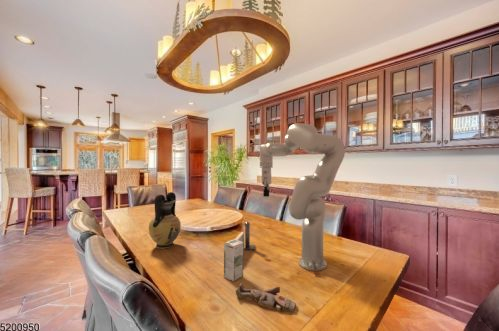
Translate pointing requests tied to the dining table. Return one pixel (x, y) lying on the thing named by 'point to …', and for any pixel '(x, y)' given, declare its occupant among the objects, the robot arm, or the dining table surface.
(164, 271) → the dining table surface
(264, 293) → the figurine
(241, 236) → the gate leaf
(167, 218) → the amphora
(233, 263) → the syrup box
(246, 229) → the gate post
